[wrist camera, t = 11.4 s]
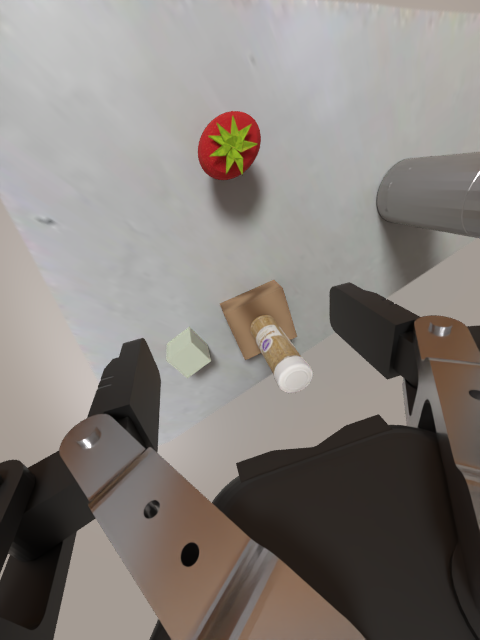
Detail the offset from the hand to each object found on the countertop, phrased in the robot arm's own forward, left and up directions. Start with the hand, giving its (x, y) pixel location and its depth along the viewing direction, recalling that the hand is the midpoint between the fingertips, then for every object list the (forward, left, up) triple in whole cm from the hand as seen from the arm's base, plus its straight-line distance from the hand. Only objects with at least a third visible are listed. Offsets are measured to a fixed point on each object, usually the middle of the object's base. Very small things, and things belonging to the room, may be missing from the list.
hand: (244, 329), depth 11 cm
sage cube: (+6, +19, -30) cm, 36 cm away
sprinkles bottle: (-7, +17, -26) cm, 32 cm away
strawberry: (-6, -8, -30) cm, 32 cm away
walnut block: (-7, +17, -30) cm, 35 cm away
